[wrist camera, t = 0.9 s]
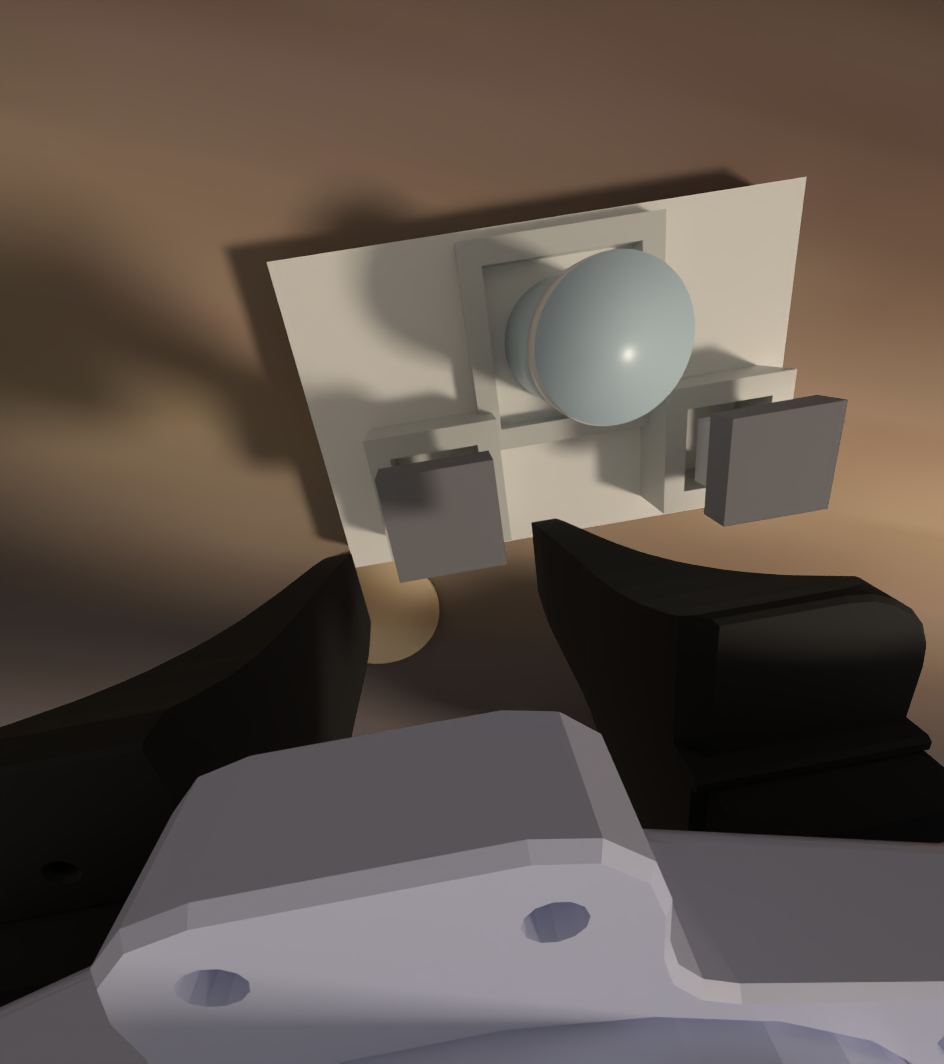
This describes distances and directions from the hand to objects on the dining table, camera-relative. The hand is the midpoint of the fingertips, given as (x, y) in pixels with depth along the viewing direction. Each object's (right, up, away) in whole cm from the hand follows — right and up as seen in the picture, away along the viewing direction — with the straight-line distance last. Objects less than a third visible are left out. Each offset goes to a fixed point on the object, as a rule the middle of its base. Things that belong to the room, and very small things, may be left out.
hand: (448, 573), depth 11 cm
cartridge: (+4, +8, +6) cm, 11 cm away
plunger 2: (+10, +4, +6) cm, 13 cm away
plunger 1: (-1, +2, +6) cm, 6 cm away
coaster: (-4, -3, +12) cm, 13 cm away
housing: (+4, +7, +9) cm, 12 cm away
